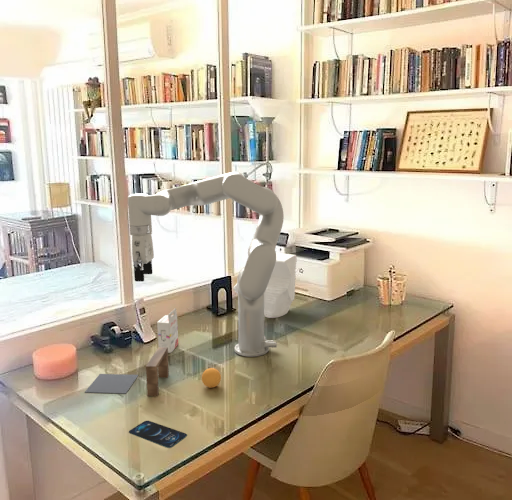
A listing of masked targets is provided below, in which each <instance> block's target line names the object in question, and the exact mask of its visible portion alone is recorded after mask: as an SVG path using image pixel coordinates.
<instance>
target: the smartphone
mask: <svg viewBox="0 0 512 500" xmlns="http://www.w3.org/2000/svg"><path fill="white" fill-rule="evenodd" d="M128 434H131V435H133V436H136V437H138V438H140V439H144V440H145V441H148V442H151V443H153V444H157V445H159V446H161V447H164V448H167V449H172V448H173V447H174V446H176V445H177V444H179V443H180V442H182V440H184V439H185V438H186V437H187V436H188V434H187V433H186V432H183V431H180V430H178V429H177V430H176V429H175V428H172V427H169V426H165V425H162V424H159V423H157V422H153V421H151V420H144V421H142V422H141V423H139V424H137V425H136V426H134V427H133V428H131V429H129V431H128Z"/></svg>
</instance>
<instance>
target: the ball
mask: <svg viewBox="0 0 512 500" xmlns="http://www.w3.org/2000/svg"><path fill="white" fill-rule="evenodd" d="M221 379H222V375H221V373H220V371H219V370H218V369H217V368H214V367H210V368H209V367H208V368H207V369H205V370H204V371H203V373H202V374H201V381H202V384H203V385H204V386H205V387H206V388H210V389H212V388H216V387H218V385H219V384H220V383H221Z"/></svg>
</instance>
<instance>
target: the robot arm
mask: <svg viewBox="0 0 512 500" xmlns="http://www.w3.org/2000/svg"><path fill="white" fill-rule="evenodd" d="M229 199H230V200H232V201H234V202H235V203H237V204H239V205H241V206H243V207H246V208H247V209H249V210H251V211H253V212H255V213H257V214H258V215H259V216H258V217H259V218H258V221H257V222H258V223H257V225H256V228H255V232H254V234H253V238H252V239H251V242H250V245H249V247H248V248H247V249H248V250H247V254H248V255H247V259H246V262H245V265H244V267H243V268H241V269H240V271H239V272H238V274H237V278H236V279H237V282H236V284H237V286H238V294H237V318H238V319H237V325H238V333H237V335H238V340H237V341H238V343H237V344H235V346H234V353H236V354H237V355H240V356H243V357H250V358H251V357H253V358H254V357H260V356H263V355H265V354H267V353H269V350H270V348H275V349H276V348H277V342H275V341H274V339H273V340H272V339H271V340H269V339H267V338H266V335H265V316H264V292H265V290H266V288H267V286H268V283H269V280H270V277H271V275H272V272H273V269H274V266H275V263H276V253H277V252H276V251H277V250H276V246H277V244H278V242H279V238H280V235H281V232H282V228H283V226H284V225H283V224H284V219H285V218H284V209H283V206H282V203H281V201H280V198H279V196H278V195H276V193H275V192H274V191H273V190H272V189H271V188H269V187H267V186H262V185H259V184H257V183H256V182H254V181H252V180H250V179H249V178H246V177H245V176H244V175H243V174H242V173H240V172H238V171H232V172H231V171H230V172H227V173H224V174H220V175H217V176H212V177H209V178H204V179H201V180H198V181H194V182H191V183H187V184H184V185H180V186H177V187H173V188H169V189H164V190H161V191H158V192H157V193H156V194H151V195H149V194H147V193H132V194H130V195H128V196H127V206H128V207H127V209H128V224H129V235H130V236H131V256H132V263H133V265H132V266H133V274H134V281H135V282H144V281H145V275H153V259H154V257H155V256H154V244H153V238H152V234H153V227H152V216H157V217H163V216H166V215H168V214H169V213H170V212H171V211H175V210H177V209H180V208H181V209H182V208H185V207H191V206H207V205H210V204H214V203H217V202H222V201H225V200H229Z"/></svg>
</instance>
